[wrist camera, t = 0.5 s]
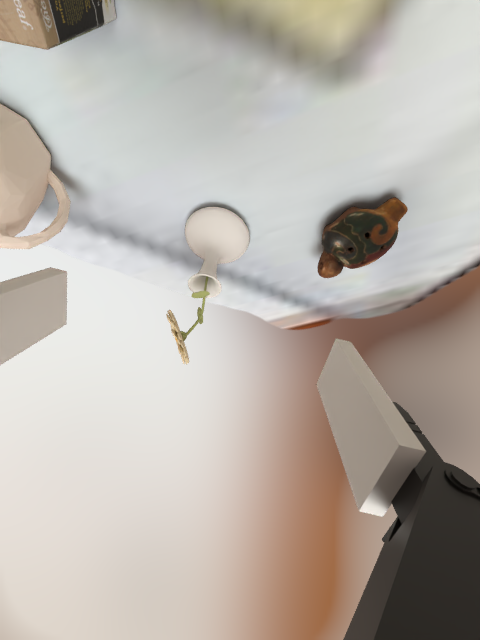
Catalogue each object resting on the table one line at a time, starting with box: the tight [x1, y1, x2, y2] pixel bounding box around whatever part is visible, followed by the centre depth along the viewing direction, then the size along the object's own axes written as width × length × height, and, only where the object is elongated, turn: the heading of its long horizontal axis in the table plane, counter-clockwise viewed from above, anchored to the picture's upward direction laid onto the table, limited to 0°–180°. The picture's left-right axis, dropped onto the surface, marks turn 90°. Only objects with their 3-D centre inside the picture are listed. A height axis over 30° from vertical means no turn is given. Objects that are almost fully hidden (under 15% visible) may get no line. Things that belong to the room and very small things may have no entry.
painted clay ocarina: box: [318, 197, 407, 278], centre depth 45 cm, size 10×15×8 cm, turn 147°
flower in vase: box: [167, 207, 250, 364], centre depth 44 cm, size 13×11×25 cm
